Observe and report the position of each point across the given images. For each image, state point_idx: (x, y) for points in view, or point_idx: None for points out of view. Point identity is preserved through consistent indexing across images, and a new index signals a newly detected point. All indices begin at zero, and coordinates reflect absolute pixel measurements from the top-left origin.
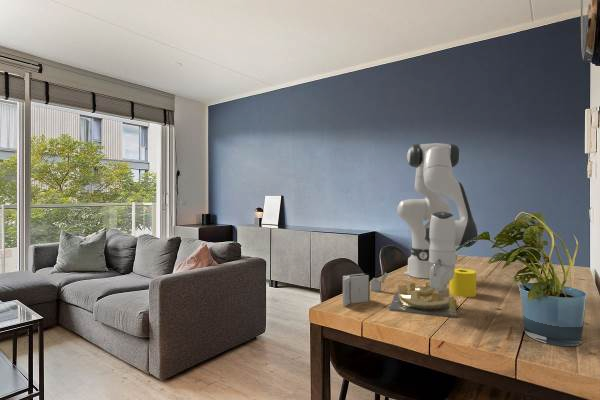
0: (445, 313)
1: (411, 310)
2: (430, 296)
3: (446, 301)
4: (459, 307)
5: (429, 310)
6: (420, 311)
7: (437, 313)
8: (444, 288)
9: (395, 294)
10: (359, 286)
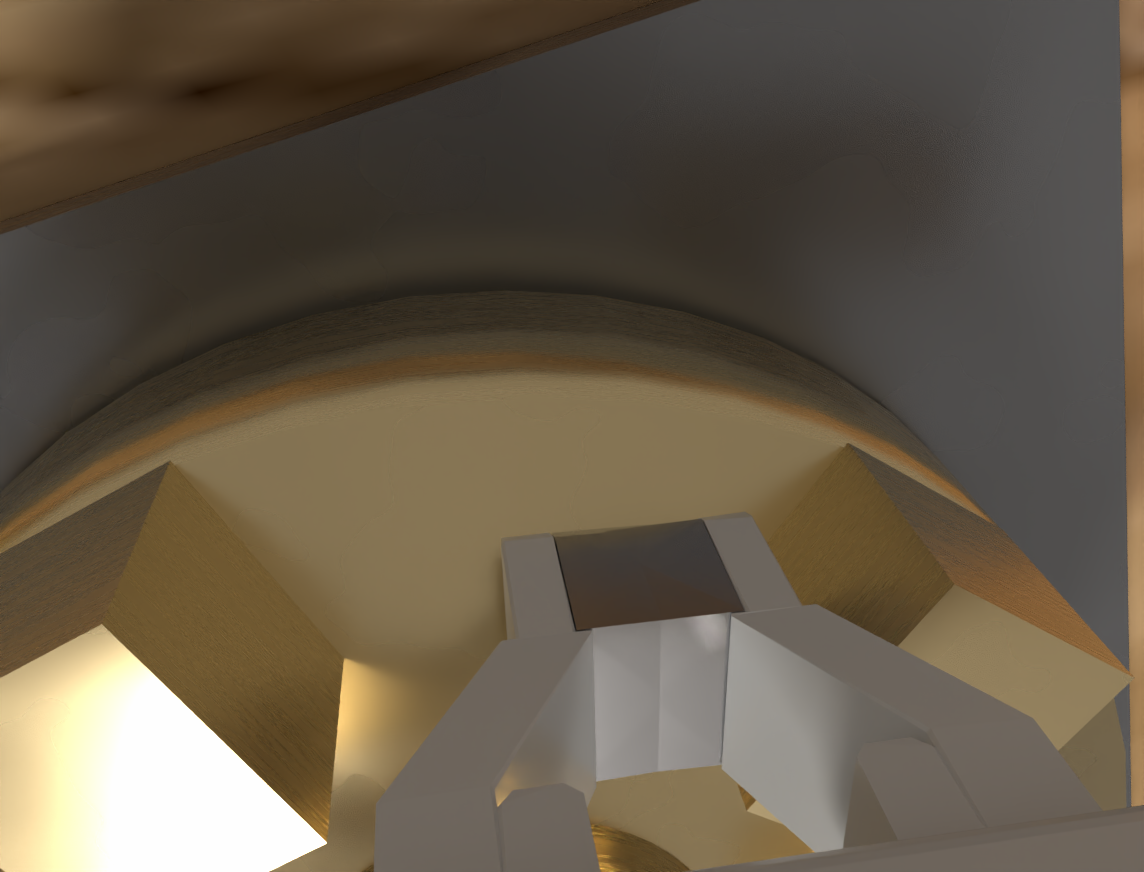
0: (1081, 179)
1: (1128, 736)
2: (650, 790)
3: (648, 371)
4: (70, 53)
5: (1007, 519)
6: (1122, 617)
7: (1119, 333)
8: (556, 736)
9: None
10: None
